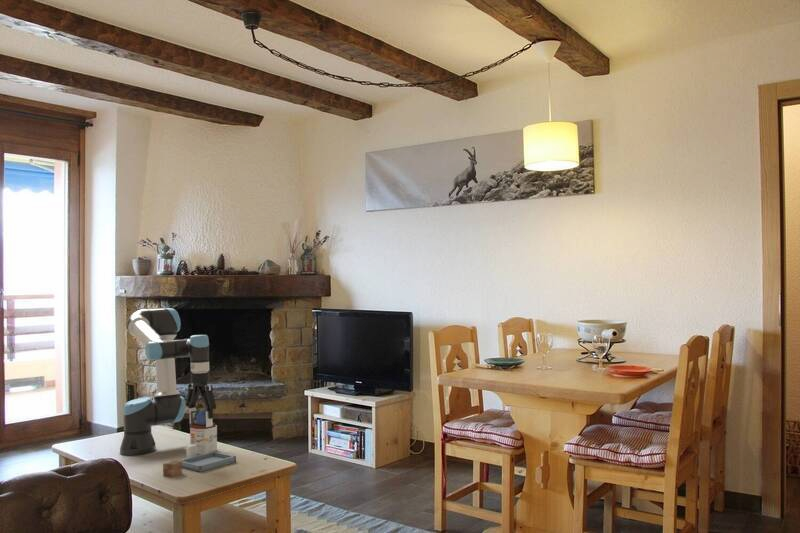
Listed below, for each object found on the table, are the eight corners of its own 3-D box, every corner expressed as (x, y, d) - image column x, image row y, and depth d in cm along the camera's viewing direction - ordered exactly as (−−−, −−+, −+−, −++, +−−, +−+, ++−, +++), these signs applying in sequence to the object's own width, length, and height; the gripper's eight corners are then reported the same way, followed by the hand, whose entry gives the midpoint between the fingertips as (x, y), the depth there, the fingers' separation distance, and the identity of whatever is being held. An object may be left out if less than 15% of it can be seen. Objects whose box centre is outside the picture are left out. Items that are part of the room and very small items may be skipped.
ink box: (189, 453, 293) (189, 427, 293) (202, 448, 300) (201, 423, 301) (205, 454, 289) (205, 428, 290) (217, 450, 297) (217, 424, 297)
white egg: (184, 460, 281) (184, 446, 282) (193, 457, 285) (193, 443, 285) (190, 461, 279) (190, 447, 279) (199, 459, 282) (199, 445, 282)
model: (220, 426, 273) (219, 403, 274) (200, 430, 267) (199, 407, 267) (204, 422, 281) (204, 401, 282) (184, 426, 275) (184, 404, 275)
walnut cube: (163, 476, 258) (163, 463, 258) (171, 472, 263) (171, 460, 263) (173, 477, 257) (173, 464, 257) (181, 473, 261) (181, 461, 261)
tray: (177, 466, 271) (177, 460, 271) (214, 456, 285) (214, 451, 286) (199, 472, 262) (199, 466, 262) (236, 461, 276) (236, 456, 276)
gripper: (176, 371, 279) (177, 423, 278) (208, 374, 264) (210, 429, 263) (191, 369, 284) (192, 420, 284) (224, 372, 270) (225, 426, 269)
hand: (201, 425), depth 273 cm, fingers closed on model, 11 cm apart
